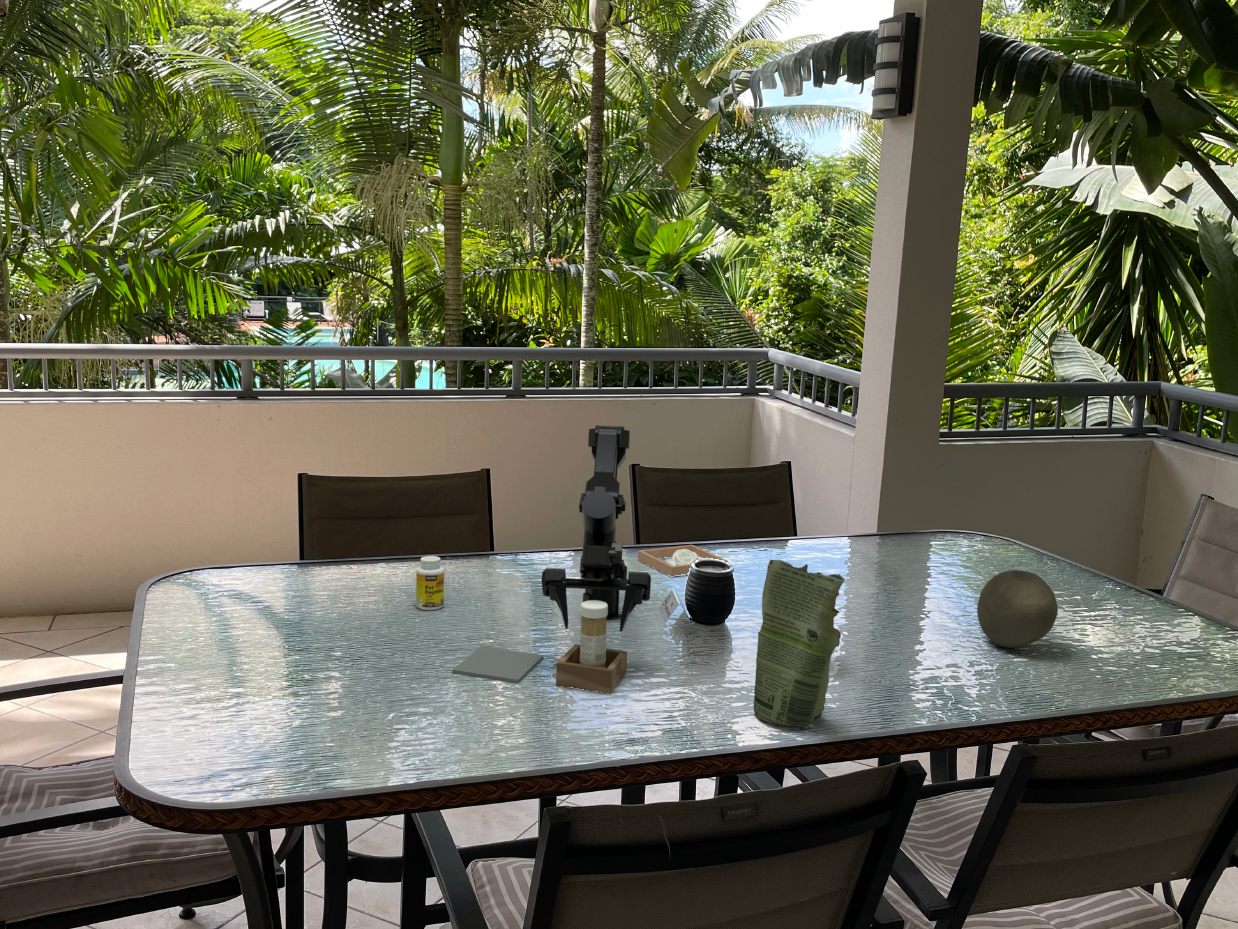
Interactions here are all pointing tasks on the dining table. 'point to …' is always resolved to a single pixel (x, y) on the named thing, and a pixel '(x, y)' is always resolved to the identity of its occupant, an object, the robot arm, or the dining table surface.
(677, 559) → the rose
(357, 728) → the dining table surface
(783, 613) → the pouch
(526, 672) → the grey mat
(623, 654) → the walnut sleeve
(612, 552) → the robot arm
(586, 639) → the sprinkles bottle
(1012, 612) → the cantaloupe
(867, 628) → the dining table surface
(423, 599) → the supplement bottle
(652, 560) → the wooden square frame
